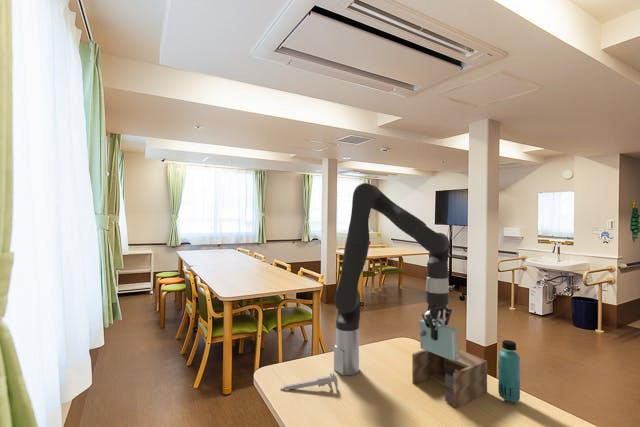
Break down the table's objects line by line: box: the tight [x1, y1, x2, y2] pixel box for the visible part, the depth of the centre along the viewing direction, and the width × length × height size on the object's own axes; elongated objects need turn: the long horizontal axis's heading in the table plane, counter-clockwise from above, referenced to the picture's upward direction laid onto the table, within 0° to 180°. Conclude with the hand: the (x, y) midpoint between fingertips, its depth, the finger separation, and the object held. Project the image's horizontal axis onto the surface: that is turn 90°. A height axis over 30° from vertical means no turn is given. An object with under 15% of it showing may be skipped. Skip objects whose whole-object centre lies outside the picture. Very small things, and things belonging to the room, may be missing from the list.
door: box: [418, 319, 460, 361], centre depth 112 cm, size 4×14×10 cm, turn 32°
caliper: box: [280, 372, 339, 391], centre depth 114 cm, size 20×1×6 cm, turn 90°
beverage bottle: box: [497, 339, 521, 403], centre depth 107 cm, size 6×7×20 cm
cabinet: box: [411, 349, 488, 409], centre depth 115 cm, size 18×18×11 cm
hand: (437, 338), depth 112 cm, fingers closed on door, 2 cm apart
